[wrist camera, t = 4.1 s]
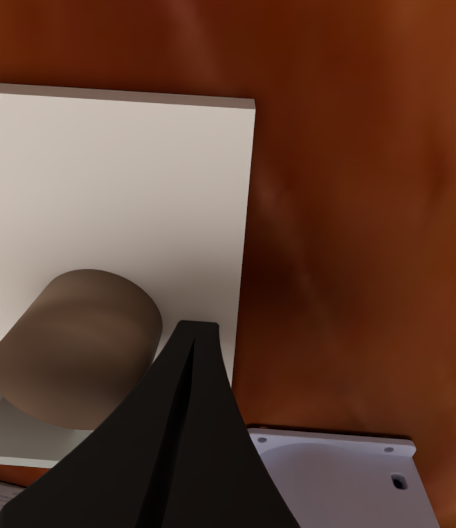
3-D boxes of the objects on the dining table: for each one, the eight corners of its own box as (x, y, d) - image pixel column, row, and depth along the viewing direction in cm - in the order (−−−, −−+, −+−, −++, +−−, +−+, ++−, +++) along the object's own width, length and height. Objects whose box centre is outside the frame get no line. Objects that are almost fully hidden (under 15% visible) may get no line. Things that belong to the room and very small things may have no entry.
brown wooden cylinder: (158, 273, 11) (133, 338, 9) (165, 364, 14) (147, 435, 11) (26, 264, 12) (-36, 325, 9) (56, 356, 14) (13, 424, 11)
